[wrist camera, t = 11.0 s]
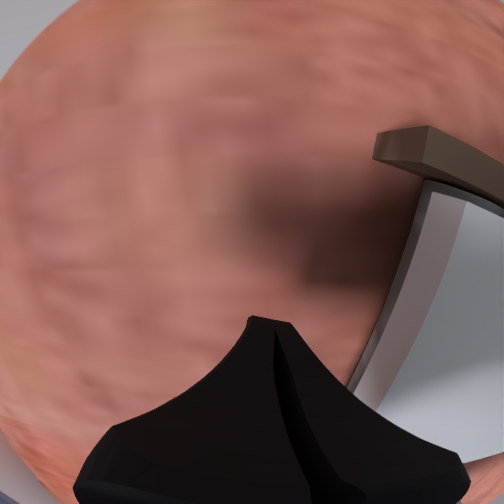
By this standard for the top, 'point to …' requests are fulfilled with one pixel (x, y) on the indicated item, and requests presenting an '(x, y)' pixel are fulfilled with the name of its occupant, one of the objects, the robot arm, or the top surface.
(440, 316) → the metal plate
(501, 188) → the roller bed
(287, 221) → the top surface
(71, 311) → the top surface
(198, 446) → the robot arm
